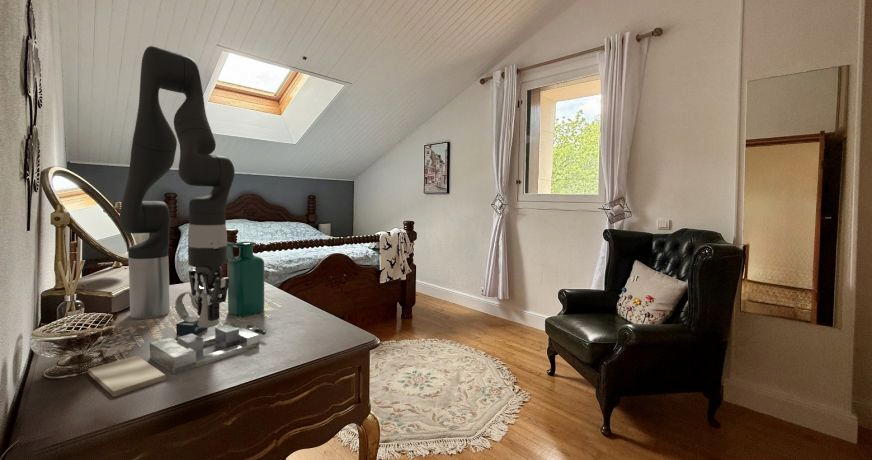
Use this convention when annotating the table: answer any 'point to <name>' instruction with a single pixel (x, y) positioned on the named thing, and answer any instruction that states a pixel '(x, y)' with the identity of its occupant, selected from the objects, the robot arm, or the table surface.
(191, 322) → the watch
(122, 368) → the board
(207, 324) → the rook chess piece
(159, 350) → the vise
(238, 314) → the pitcher
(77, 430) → the table surface
